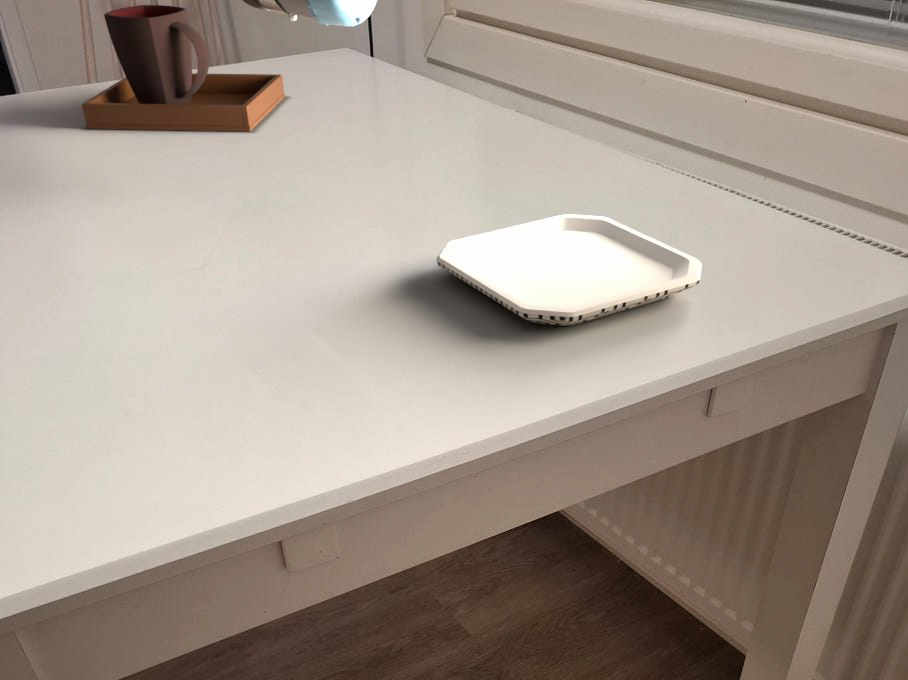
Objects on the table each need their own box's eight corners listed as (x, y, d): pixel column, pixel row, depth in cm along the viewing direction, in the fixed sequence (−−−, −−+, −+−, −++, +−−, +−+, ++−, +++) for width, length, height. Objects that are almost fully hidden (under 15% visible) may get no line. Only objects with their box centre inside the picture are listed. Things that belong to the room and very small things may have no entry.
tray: (87, 128, 128) (81, 104, 126) (138, 95, 142) (133, 72, 140) (250, 131, 126) (246, 106, 124) (285, 97, 141) (281, 74, 138)
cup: (162, 98, 138) (141, 3, 130) (236, 107, 134) (219, 10, 126) (117, 113, 132) (92, 14, 124) (193, 123, 127) (173, 22, 119)
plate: (420, 270, 89) (419, 246, 88) (586, 229, 97) (588, 207, 96) (541, 348, 76) (542, 323, 75) (721, 294, 84) (725, 270, 83)
